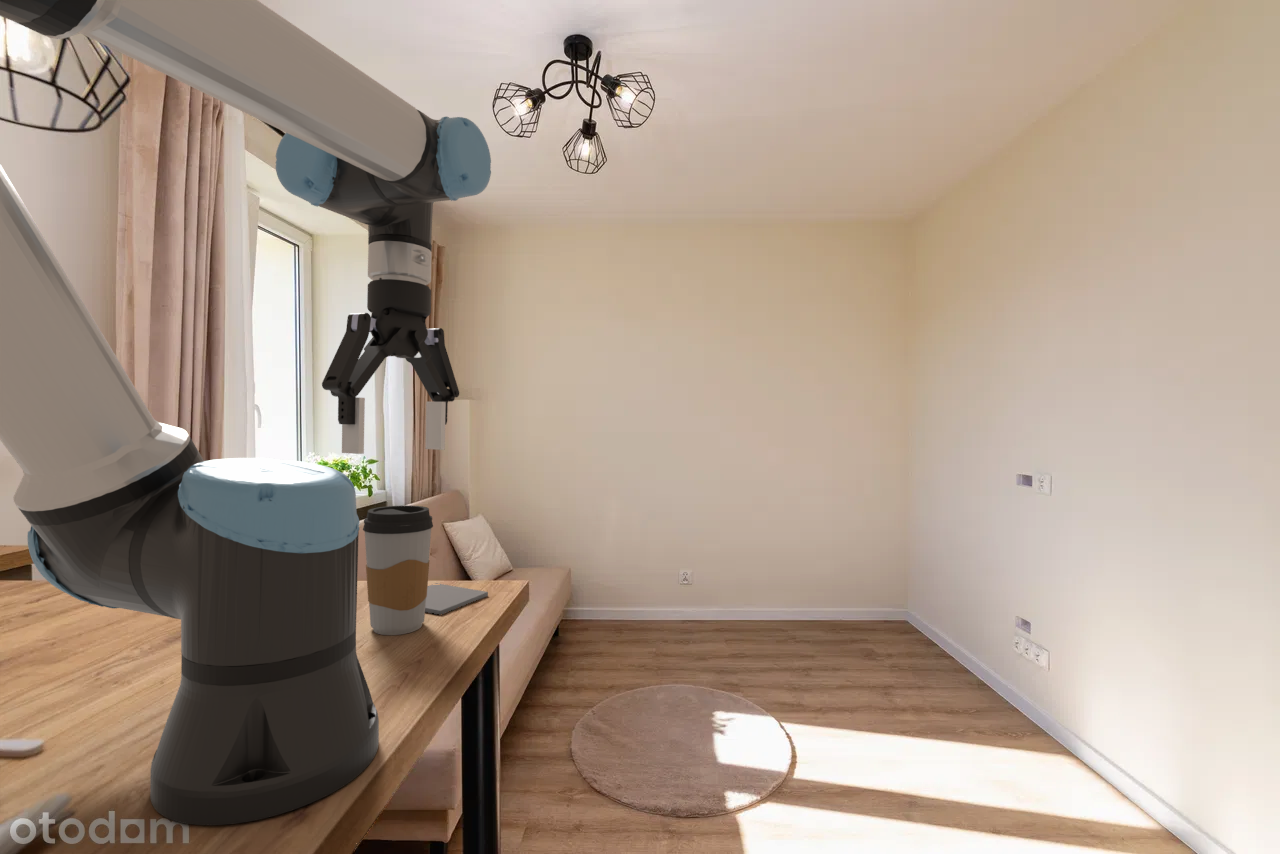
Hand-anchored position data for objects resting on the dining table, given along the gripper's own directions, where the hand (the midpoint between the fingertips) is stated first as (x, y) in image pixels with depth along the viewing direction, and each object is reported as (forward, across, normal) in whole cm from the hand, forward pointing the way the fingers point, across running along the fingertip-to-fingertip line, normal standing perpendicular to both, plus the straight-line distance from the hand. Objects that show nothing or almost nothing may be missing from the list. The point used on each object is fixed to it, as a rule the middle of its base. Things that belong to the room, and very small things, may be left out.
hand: (397, 451), depth 79 cm
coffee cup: (+23, 0, 0) cm, 23 cm away
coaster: (+22, +11, +3) cm, 25 cm away
